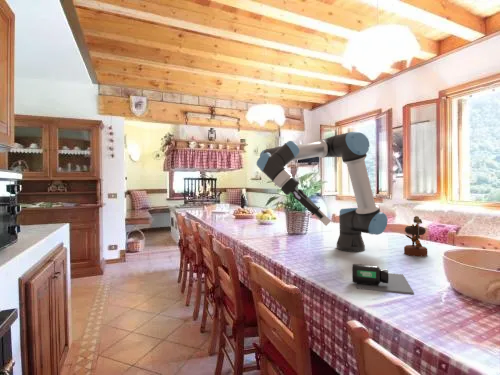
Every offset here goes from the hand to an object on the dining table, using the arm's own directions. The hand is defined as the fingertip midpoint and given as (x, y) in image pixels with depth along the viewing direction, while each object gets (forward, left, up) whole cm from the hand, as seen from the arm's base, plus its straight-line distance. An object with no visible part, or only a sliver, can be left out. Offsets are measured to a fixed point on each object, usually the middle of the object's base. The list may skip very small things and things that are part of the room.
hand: (328, 223), depth 116 cm
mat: (+17, +9, -21) cm, 29 cm away
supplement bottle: (+11, -1, -17) cm, 21 cm away
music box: (+11, +63, -22) cm, 67 cm away
